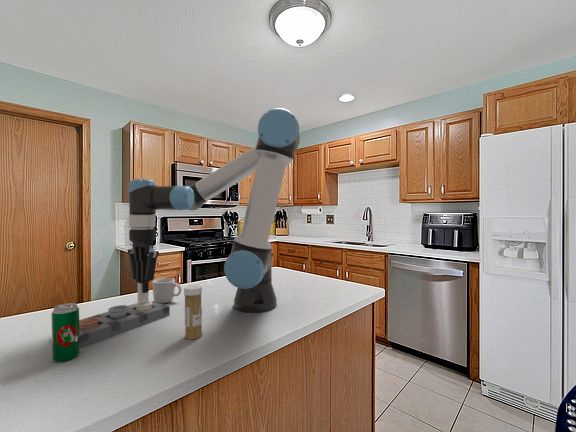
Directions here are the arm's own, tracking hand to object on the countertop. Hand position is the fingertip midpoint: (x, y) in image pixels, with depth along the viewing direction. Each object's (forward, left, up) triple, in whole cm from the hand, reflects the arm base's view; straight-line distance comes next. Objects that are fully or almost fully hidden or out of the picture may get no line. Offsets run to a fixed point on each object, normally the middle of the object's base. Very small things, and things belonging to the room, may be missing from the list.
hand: (143, 302), depth 93 cm
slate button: (0, +8, -3) cm, 8 cm away
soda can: (-9, +25, -5) cm, 27 cm away
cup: (+7, -14, -5) cm, 16 cm away
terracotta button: (0, +16, -4) cm, 16 cm away
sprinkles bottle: (-25, +2, -5) cm, 26 cm away
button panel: (0, +8, -5) cm, 9 cm away
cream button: (0, 0, -3) cm, 3 cm away
